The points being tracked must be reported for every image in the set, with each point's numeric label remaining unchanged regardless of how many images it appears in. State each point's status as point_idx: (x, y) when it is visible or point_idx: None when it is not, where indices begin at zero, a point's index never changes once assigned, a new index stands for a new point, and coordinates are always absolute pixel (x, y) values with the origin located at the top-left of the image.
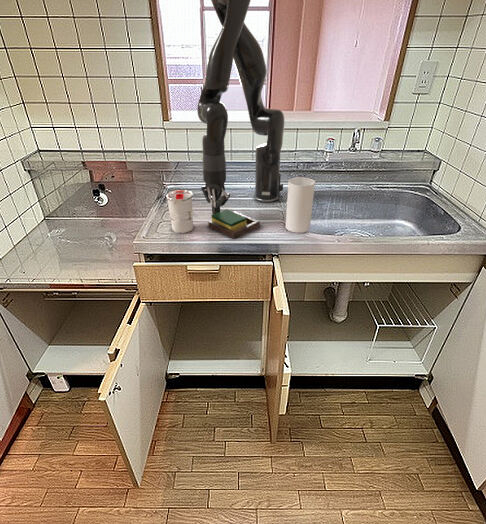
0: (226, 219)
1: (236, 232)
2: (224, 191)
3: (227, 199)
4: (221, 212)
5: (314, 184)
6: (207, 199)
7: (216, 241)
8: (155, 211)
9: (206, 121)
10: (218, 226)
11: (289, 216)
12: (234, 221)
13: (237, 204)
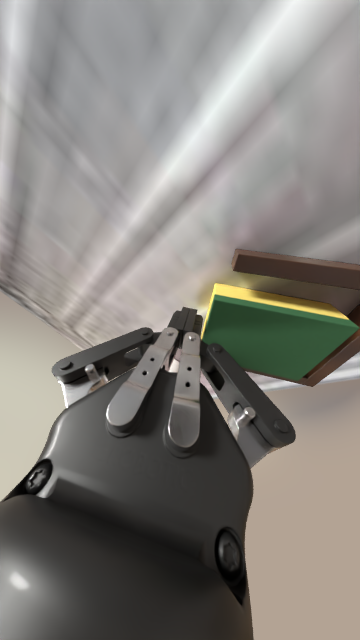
0: (265, 364)
1: (321, 379)
2: (253, 464)
3: (261, 395)
4: (215, 332)
5: None
6: (139, 358)
7: (264, 385)
8: (67, 339)
9: None
10: (248, 371)
11: None
12: (304, 366)
13: (144, 57)
